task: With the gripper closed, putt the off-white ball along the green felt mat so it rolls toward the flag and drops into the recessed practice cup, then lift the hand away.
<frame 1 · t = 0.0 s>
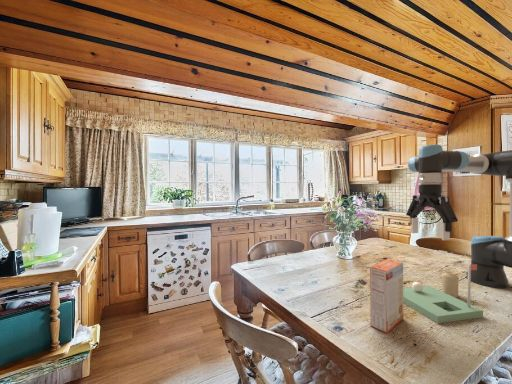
hand: (429, 236, 94), 28 cm above the table, fingers open, 13 cm apart
ball: (417, 286, 101), point 4 cm above the table, touching green
cracker box: (386, 322, 83), on the table
candle: (450, 295, 103), on the table
green: (432, 304, 94), on the table
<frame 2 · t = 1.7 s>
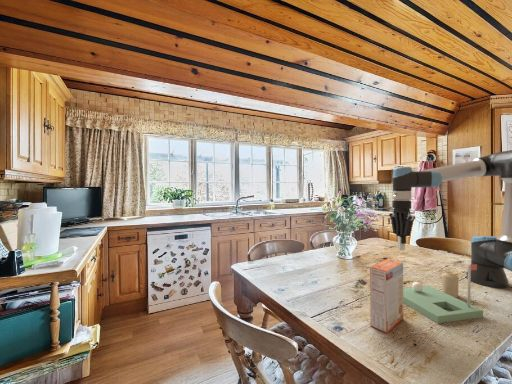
hand: (401, 249, 110), 18 cm above the table, fingers closed
nothing on the table moved.
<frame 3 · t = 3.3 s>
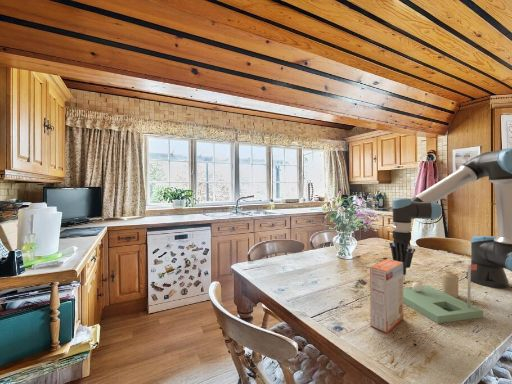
hand: (401, 280, 110), 4 cm above the table, fingers closed
nothing on the table moved.
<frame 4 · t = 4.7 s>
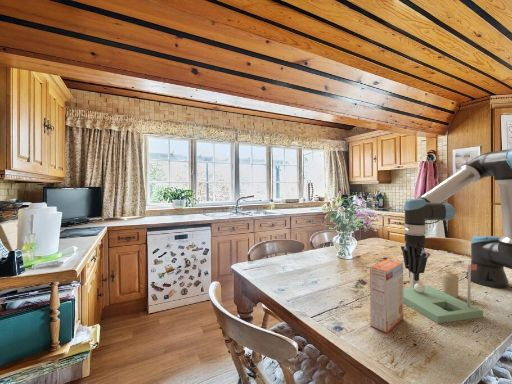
hand: (414, 286, 103), 4 cm above the table, fingers closed
ball: (419, 287, 100), point 4 cm above the table, tilted 27°, touching green
everything else where it was.
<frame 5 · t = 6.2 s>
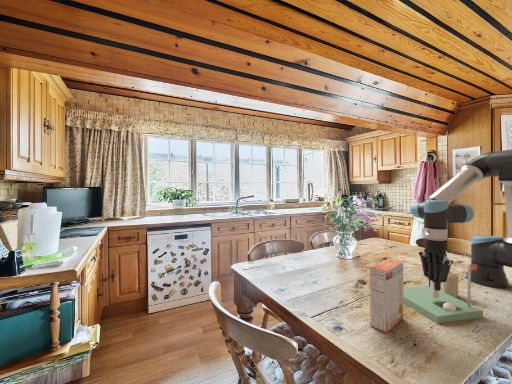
hand: (434, 296, 93), 4 cm above the table, fingers closed
ball: (449, 308, 87), point 2 cm above the table, tilted 61°, touching green
everything else where it was.
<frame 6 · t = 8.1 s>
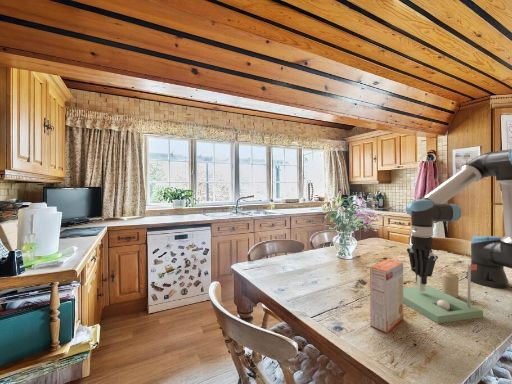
hand: (421, 290, 100), 4 cm above the table, fingers closed
ball: (443, 305, 90), point 2 cm above the table, tilted 5°, touching green
everything else where it was.
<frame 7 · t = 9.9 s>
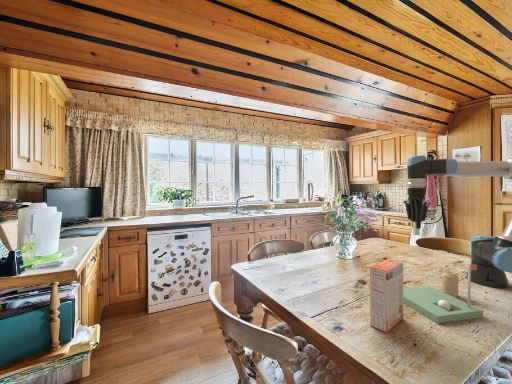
hand: (416, 234, 115), 24 cm above the table, fingers closed
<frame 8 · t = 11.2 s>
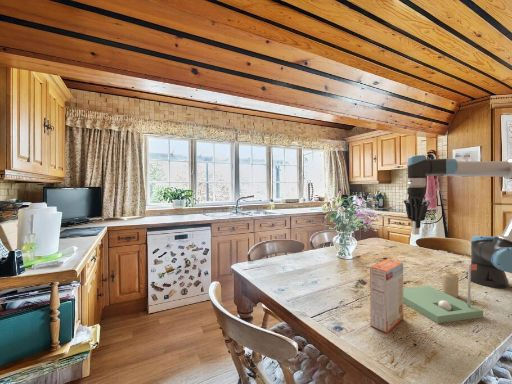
hand: (415, 234, 116), 24 cm above the table, fingers closed
ball: (444, 306, 89), point 2 cm above the table, tilted 11°, touching green
everything else where it was.
at the end: ball 0.8 cm from the target spot in the green, point 2.3 cm above the green's base; ball touching green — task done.
